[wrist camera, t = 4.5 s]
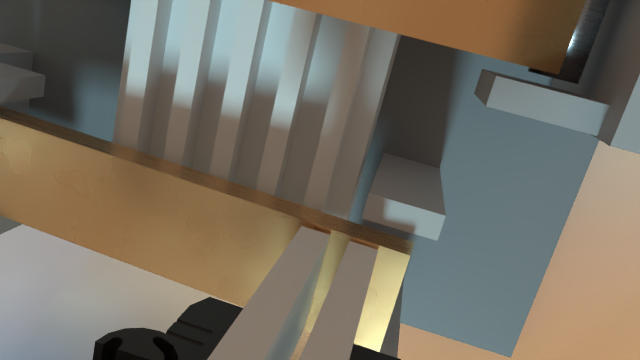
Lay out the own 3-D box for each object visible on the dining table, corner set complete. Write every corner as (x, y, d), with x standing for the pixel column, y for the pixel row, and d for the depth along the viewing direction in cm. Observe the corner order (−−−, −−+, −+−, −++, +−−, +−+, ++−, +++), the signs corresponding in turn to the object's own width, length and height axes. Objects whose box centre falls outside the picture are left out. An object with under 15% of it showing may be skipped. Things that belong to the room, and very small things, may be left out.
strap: (-39, 183, 18) (-73, 192, 17) (-34, 89, 17) (-70, 92, 16) (382, 339, 15) (375, 362, 14) (415, 237, 14) (411, 253, 13)
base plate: (-9, 183, 23) (-200, 247, 16) (20, -221, 19) (-227, -380, 12) (507, 345, 20) (550, 506, 13) (676, -76, 16) (871, -164, 9)
